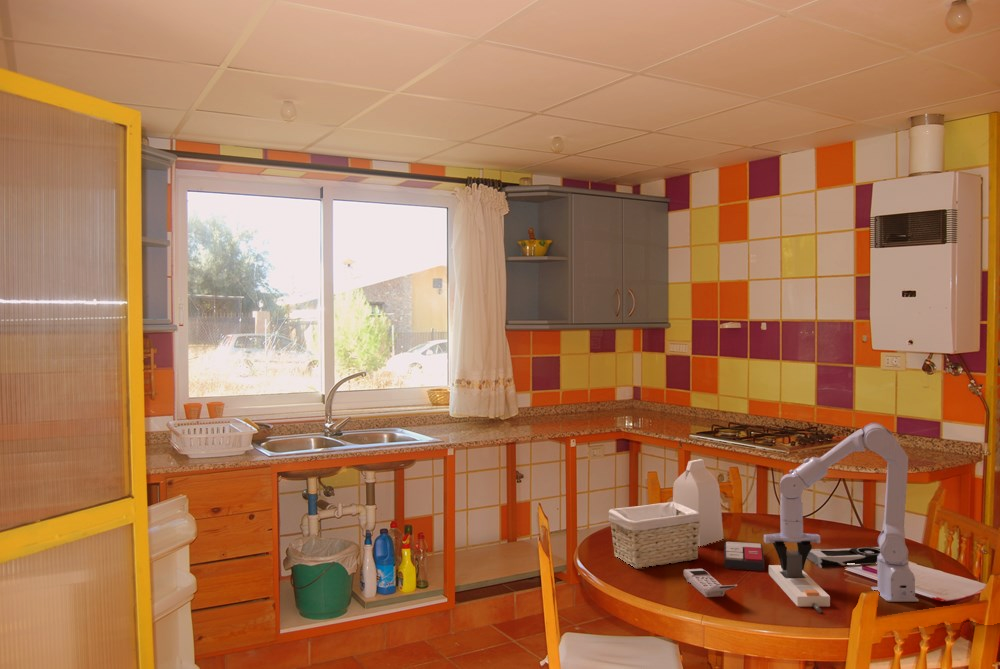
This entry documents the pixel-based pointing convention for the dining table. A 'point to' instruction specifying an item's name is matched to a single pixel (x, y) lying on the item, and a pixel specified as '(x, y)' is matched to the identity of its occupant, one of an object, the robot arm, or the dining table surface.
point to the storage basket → (655, 534)
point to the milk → (701, 499)
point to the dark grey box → (744, 556)
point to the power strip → (800, 589)
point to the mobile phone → (705, 583)
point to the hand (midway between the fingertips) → (792, 568)
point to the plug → (793, 565)
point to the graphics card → (844, 556)
